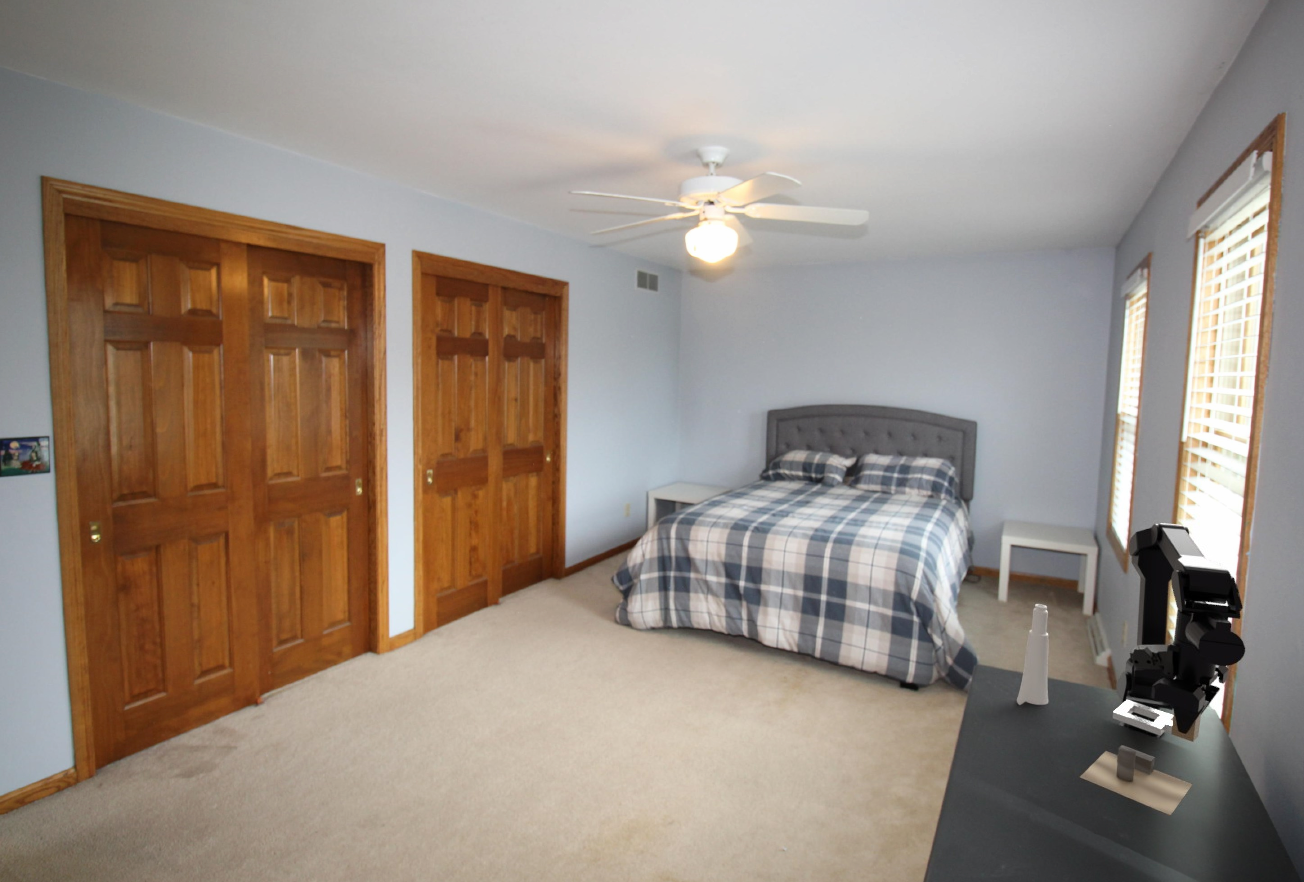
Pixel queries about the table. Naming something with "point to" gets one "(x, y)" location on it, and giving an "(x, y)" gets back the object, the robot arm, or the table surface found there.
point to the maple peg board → (1137, 779)
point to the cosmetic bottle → (1036, 661)
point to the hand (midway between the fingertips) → (1185, 729)
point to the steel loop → (1159, 725)
